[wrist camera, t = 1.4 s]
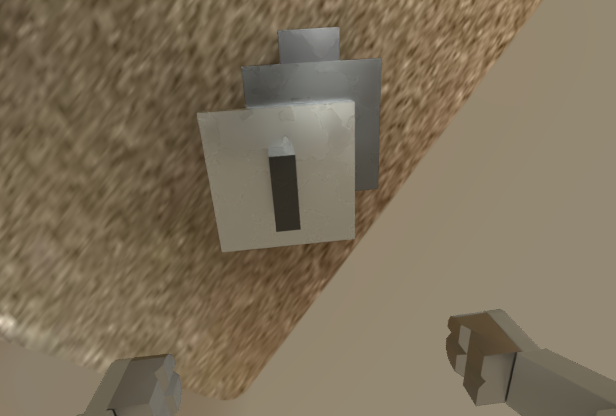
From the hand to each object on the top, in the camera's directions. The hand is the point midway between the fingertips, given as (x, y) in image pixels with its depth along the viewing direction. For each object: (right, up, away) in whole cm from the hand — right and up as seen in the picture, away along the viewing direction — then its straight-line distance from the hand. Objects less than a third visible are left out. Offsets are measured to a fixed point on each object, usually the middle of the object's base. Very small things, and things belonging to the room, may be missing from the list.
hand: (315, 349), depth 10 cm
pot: (-1, +12, +21) cm, 24 cm away
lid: (-2, +6, +14) cm, 16 cm away
